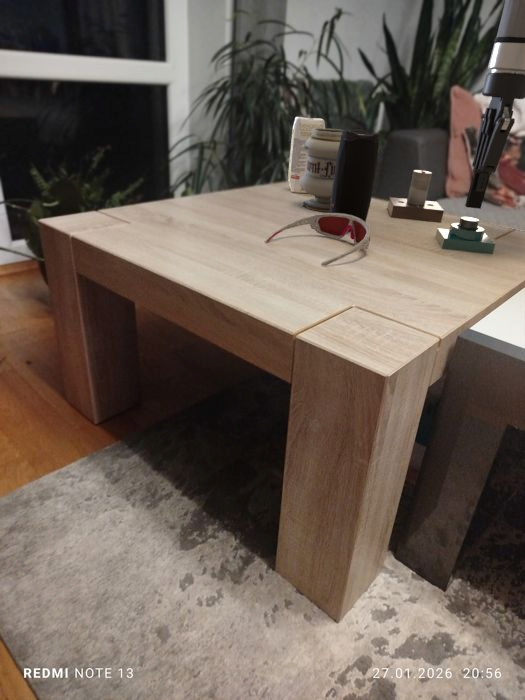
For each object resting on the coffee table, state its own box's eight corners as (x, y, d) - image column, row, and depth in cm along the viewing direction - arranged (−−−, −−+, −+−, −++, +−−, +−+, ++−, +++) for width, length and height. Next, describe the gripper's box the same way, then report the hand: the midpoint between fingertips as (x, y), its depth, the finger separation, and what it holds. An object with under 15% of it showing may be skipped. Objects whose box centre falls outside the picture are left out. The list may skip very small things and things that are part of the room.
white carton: (318, 194, 140) (328, 120, 131) (288, 192, 139) (295, 117, 130) (315, 189, 146) (323, 118, 137) (286, 187, 146) (292, 115, 137)
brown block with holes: (433, 213, 130) (436, 201, 128) (441, 223, 121) (444, 209, 119) (387, 208, 131) (389, 196, 129) (390, 217, 122) (393, 204, 120)
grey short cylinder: (474, 227, 104) (476, 217, 103) (478, 232, 101) (481, 222, 100) (456, 225, 104) (459, 215, 103) (460, 230, 101) (462, 220, 100)
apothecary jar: (289, 202, 129) (296, 126, 120) (327, 200, 134) (337, 127, 125) (314, 214, 119) (325, 132, 111) (355, 211, 125) (367, 133, 116)
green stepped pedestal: (482, 243, 107) (487, 224, 105) (492, 254, 100) (498, 234, 98) (434, 238, 108) (439, 219, 106) (441, 249, 101) (446, 229, 99)
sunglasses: (387, 251, 96) (389, 226, 93) (326, 282, 87) (326, 256, 84) (321, 229, 107) (321, 205, 104) (261, 254, 98) (259, 230, 95)
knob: (405, 200, 126) (412, 168, 123) (423, 202, 126) (430, 169, 122) (407, 204, 122) (414, 170, 119) (426, 206, 122) (433, 172, 118)
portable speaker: (329, 230, 107) (343, 131, 98) (325, 219, 115) (337, 127, 106) (369, 233, 107) (386, 135, 98) (362, 222, 116) (377, 130, 106)
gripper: (544, 74, 83) (501, 216, 94) (519, 75, 94) (483, 202, 106) (498, 70, 84) (460, 212, 95) (478, 71, 95) (447, 198, 106)
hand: (472, 207), depth 100 cm, fingers closed
